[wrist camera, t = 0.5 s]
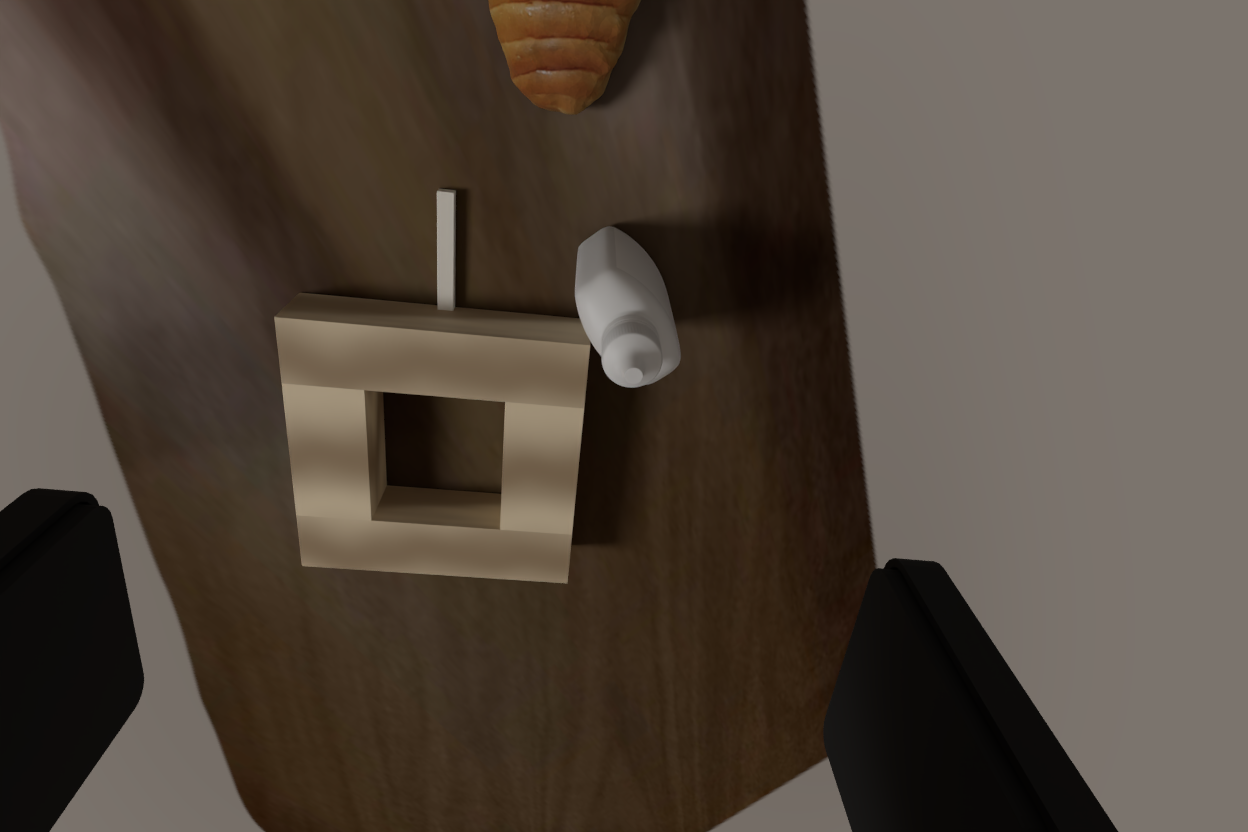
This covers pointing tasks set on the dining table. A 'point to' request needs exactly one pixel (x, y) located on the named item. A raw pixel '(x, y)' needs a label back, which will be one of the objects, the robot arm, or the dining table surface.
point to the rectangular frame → (434, 366)
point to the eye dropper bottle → (625, 309)
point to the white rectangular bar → (446, 248)
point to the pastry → (562, 47)
